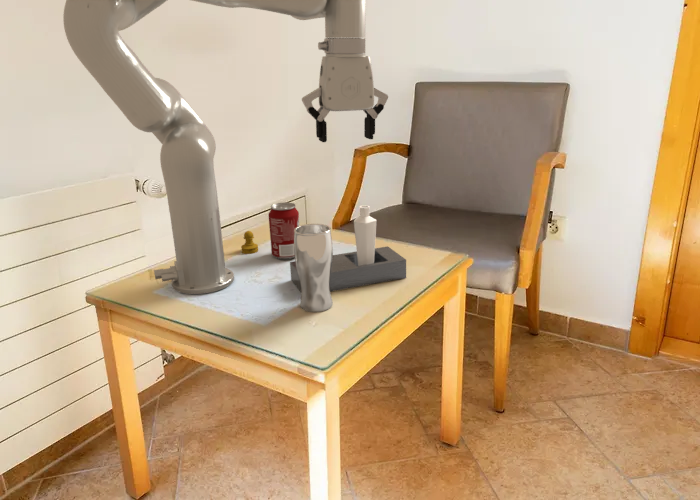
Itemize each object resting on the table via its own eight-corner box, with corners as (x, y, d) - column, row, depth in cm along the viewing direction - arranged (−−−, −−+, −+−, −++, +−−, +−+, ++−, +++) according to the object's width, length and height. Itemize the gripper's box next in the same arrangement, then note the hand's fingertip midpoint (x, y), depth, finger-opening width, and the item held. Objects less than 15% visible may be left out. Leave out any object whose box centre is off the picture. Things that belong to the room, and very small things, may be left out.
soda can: (299, 260, 134) (296, 209, 130) (269, 261, 134) (265, 210, 130) (302, 250, 140) (299, 201, 136) (274, 251, 140) (270, 201, 136)
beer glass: (315, 294, 116) (311, 220, 111) (342, 303, 112) (339, 227, 107) (290, 307, 111) (284, 230, 106) (317, 316, 107) (313, 237, 102)
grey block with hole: (303, 296, 115) (302, 277, 114) (291, 280, 123) (289, 262, 122) (406, 277, 122) (406, 259, 121) (387, 263, 130) (387, 246, 129)
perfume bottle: (351, 274, 125) (348, 205, 120) (369, 270, 127) (368, 202, 122) (360, 281, 121) (358, 211, 116) (379, 278, 123) (378, 208, 118)
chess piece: (244, 255, 138) (242, 234, 137) (239, 250, 142) (237, 230, 140) (260, 252, 140) (259, 231, 138) (255, 247, 143) (253, 227, 142)
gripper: (306, 49, 106) (309, 145, 112) (395, 48, 111) (393, 140, 117) (295, 48, 113) (298, 139, 118) (380, 47, 118) (379, 134, 124)
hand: (346, 139), depth 118 cm, fingers open, 9 cm apart
